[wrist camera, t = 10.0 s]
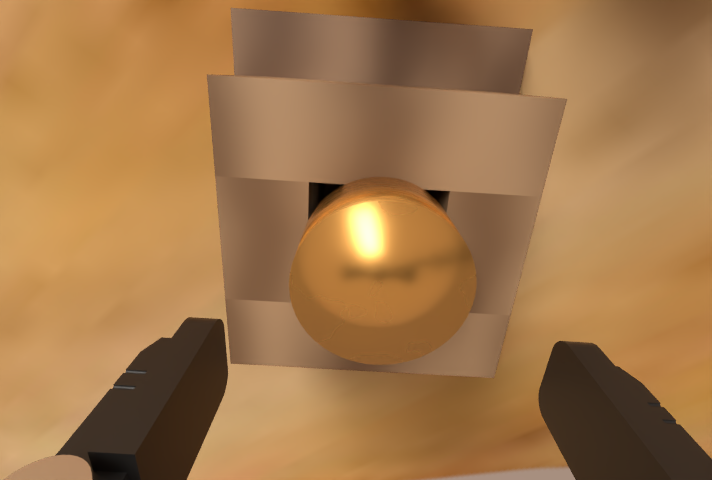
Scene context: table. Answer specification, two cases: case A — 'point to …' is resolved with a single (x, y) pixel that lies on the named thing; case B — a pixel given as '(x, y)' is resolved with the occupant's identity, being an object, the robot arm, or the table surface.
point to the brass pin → (381, 273)
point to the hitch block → (373, 162)
